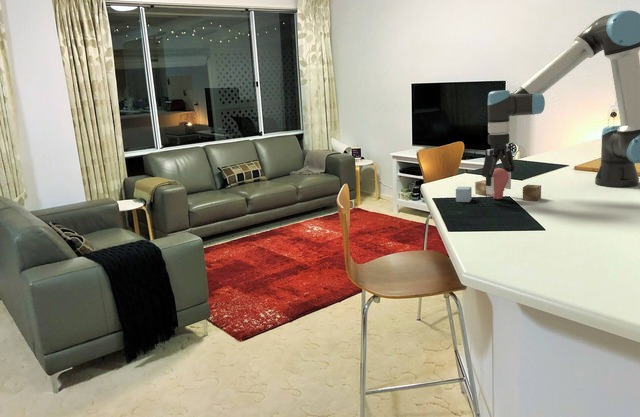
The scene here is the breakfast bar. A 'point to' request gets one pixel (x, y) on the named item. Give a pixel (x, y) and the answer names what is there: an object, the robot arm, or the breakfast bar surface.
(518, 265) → the breakfast bar surface
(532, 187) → the walnut block
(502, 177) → the light bulb
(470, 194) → the slate-blue painted block
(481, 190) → the oak block
